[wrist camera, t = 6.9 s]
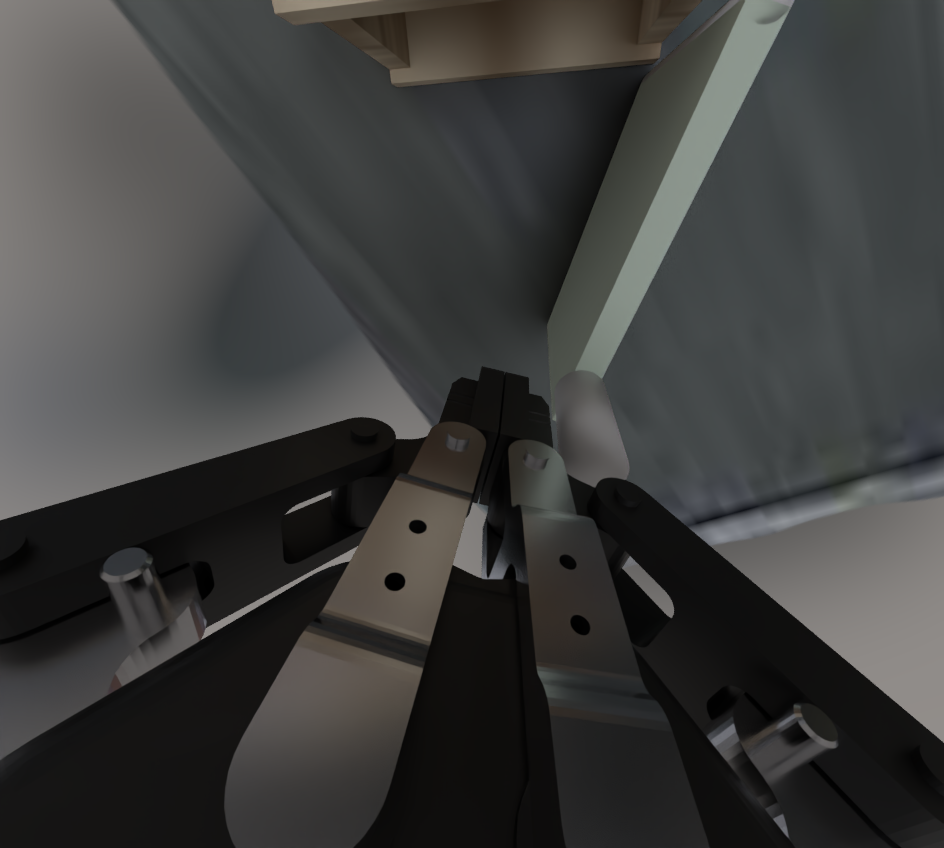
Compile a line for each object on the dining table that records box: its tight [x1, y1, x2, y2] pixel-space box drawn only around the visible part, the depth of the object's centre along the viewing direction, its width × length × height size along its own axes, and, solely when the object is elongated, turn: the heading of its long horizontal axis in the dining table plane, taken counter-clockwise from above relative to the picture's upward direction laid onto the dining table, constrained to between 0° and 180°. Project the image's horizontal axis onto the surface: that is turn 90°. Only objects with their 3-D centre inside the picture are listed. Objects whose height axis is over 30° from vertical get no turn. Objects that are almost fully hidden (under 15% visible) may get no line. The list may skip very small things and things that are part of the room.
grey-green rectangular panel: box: [547, 0, 795, 487], centre depth 15 cm, size 12×2×16 cm, turn 165°
